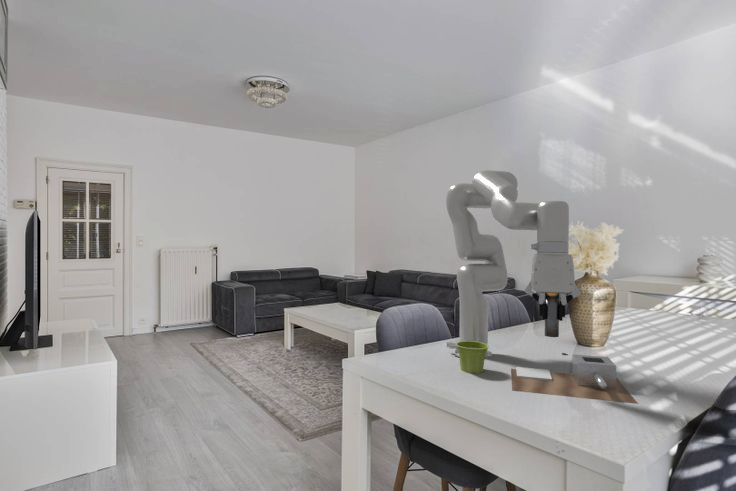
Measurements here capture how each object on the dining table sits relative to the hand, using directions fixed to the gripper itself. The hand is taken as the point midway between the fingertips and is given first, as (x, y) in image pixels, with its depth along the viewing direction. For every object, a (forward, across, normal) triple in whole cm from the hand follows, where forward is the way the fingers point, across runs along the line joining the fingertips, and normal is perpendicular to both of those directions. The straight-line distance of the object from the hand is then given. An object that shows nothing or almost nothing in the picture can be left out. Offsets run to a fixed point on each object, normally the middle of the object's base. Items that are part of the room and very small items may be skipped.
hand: (551, 318), depth 110 cm
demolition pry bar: (+20, +10, +31) cm, 38 cm away
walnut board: (+19, +4, +4) cm, 20 cm away
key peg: (+4, 0, 0) cm, 4 cm away
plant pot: (+19, -21, +9) cm, 30 cm away
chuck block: (+18, +11, +4) cm, 21 cm away
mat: (+18, -4, +10) cm, 21 cm away
